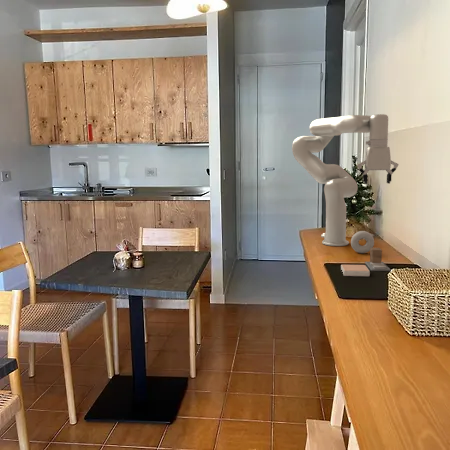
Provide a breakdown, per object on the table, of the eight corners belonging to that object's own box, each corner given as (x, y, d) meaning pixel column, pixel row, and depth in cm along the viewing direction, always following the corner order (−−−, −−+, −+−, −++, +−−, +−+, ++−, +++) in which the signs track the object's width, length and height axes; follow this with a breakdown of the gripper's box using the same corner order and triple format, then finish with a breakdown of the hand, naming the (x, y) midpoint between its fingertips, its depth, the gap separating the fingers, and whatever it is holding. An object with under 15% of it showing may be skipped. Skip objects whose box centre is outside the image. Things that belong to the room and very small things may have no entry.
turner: (368, 262, 180) (369, 247, 179) (380, 262, 180) (380, 247, 179) (374, 268, 171) (374, 253, 170) (386, 268, 170) (386, 253, 169)
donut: (350, 253, 198) (351, 231, 197) (350, 252, 202) (350, 230, 200) (374, 254, 197) (375, 231, 195) (373, 252, 200) (374, 230, 198)
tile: (341, 264, 173) (344, 270, 164) (365, 264, 172) (369, 271, 163) (340, 270, 173) (343, 276, 164) (365, 270, 172) (369, 277, 163)
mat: (364, 263, 182) (364, 261, 182) (382, 263, 181) (382, 261, 181) (371, 270, 170) (371, 269, 170) (390, 271, 169) (390, 269, 169)
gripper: (359, 144, 192) (358, 184, 195) (401, 143, 190) (399, 183, 193) (356, 144, 200) (355, 183, 202) (396, 143, 198) (395, 182, 201)
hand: (376, 183), depth 198 cm, fingers open, 9 cm apart
